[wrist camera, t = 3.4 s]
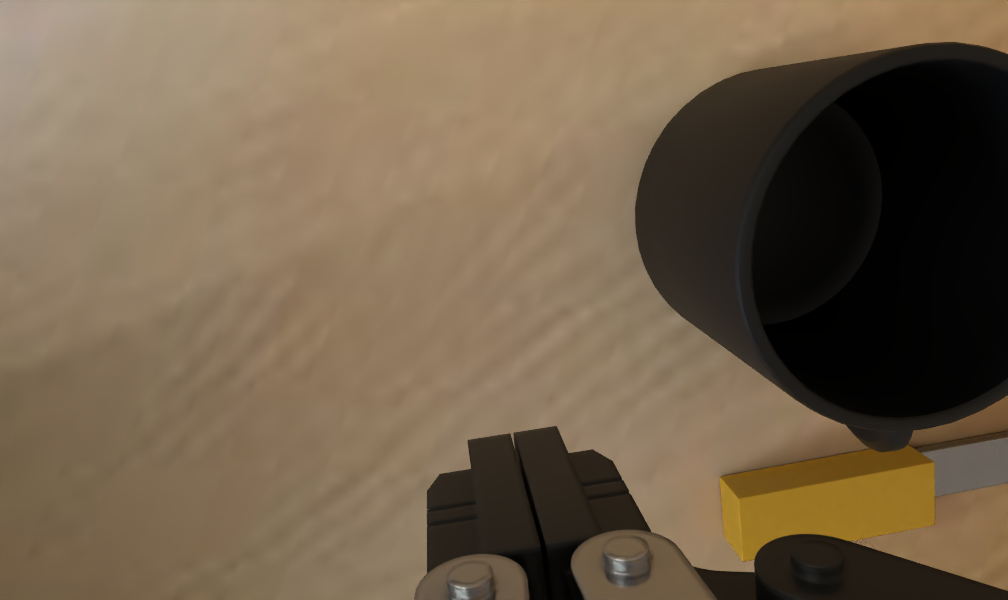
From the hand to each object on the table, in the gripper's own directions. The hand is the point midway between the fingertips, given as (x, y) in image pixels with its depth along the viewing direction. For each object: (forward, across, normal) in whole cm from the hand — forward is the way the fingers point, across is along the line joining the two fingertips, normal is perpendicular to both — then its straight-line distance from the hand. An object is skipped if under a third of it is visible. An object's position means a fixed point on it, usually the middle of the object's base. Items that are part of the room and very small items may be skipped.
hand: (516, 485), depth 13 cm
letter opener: (+14, -18, +10) cm, 25 cm away
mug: (+15, -11, 0) cm, 18 cm away
